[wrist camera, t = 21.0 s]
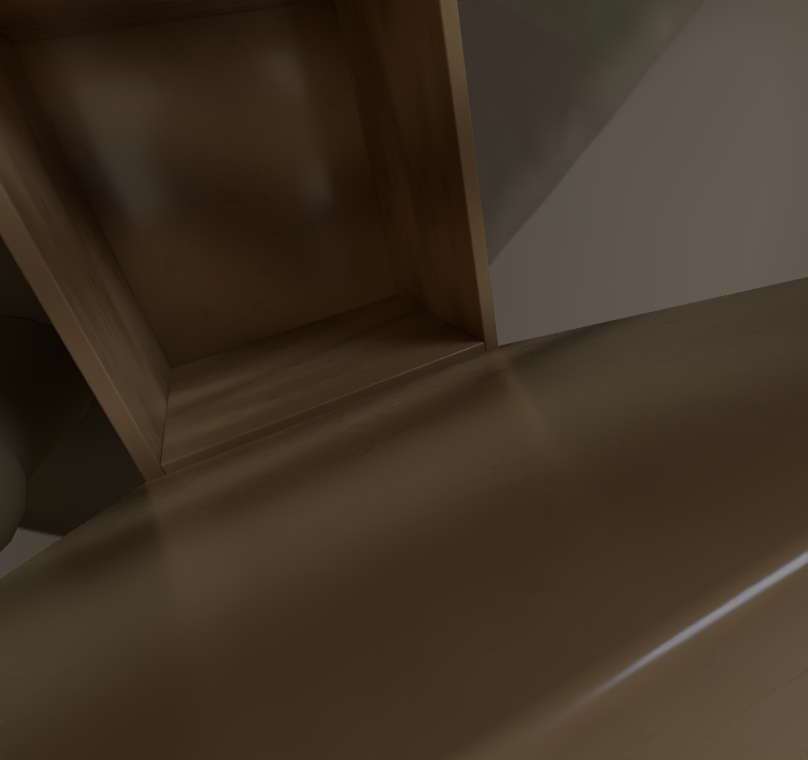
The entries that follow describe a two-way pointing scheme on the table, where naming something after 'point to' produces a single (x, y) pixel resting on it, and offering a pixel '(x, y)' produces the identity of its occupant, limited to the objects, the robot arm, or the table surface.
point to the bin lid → (457, 568)
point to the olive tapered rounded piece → (33, 408)
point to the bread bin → (242, 206)
